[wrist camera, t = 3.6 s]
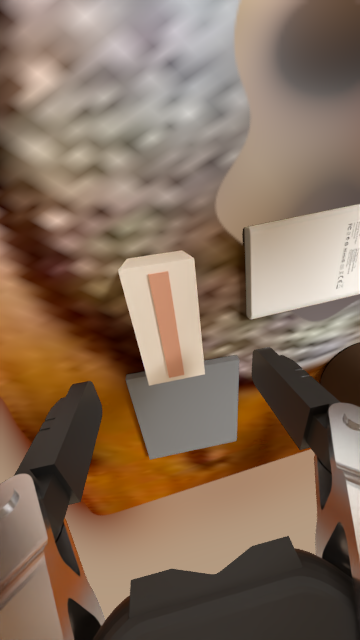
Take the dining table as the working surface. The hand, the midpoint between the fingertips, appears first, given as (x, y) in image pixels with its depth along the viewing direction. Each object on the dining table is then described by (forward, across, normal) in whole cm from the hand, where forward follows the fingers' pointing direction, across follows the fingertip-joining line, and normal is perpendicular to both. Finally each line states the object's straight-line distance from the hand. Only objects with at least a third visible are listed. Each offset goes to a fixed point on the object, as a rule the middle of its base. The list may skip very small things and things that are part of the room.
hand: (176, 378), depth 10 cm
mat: (+9, -1, +14) cm, 16 cm away
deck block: (+9, 0, 0) cm, 9 cm away
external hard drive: (+10, -14, -2) cm, 17 cm away
